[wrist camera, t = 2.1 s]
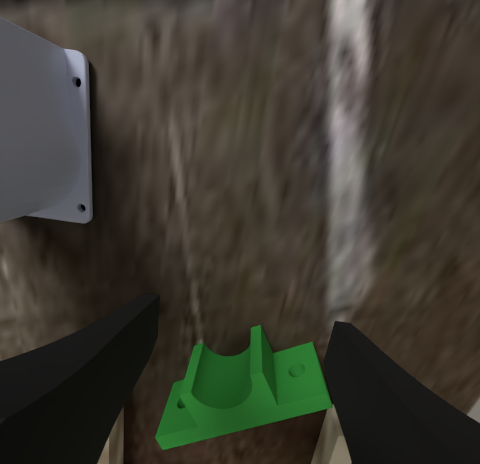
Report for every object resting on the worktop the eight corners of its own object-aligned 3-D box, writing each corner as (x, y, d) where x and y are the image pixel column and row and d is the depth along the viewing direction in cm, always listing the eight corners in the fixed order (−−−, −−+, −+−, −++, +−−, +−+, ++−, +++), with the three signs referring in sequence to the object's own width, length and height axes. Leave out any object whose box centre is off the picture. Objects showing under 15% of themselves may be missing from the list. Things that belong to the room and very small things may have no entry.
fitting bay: (98, 370, 22) (79, 398, 19) (354, 407, 22) (367, 439, 19) (101, 471, 25) (85, 506, 23) (321, 504, 25) (328, 541, 23)
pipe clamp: (300, 309, 20) (314, 357, 15) (316, 351, 21) (334, 407, 16) (158, 355, 21) (134, 409, 17) (179, 391, 22) (162, 452, 18)
